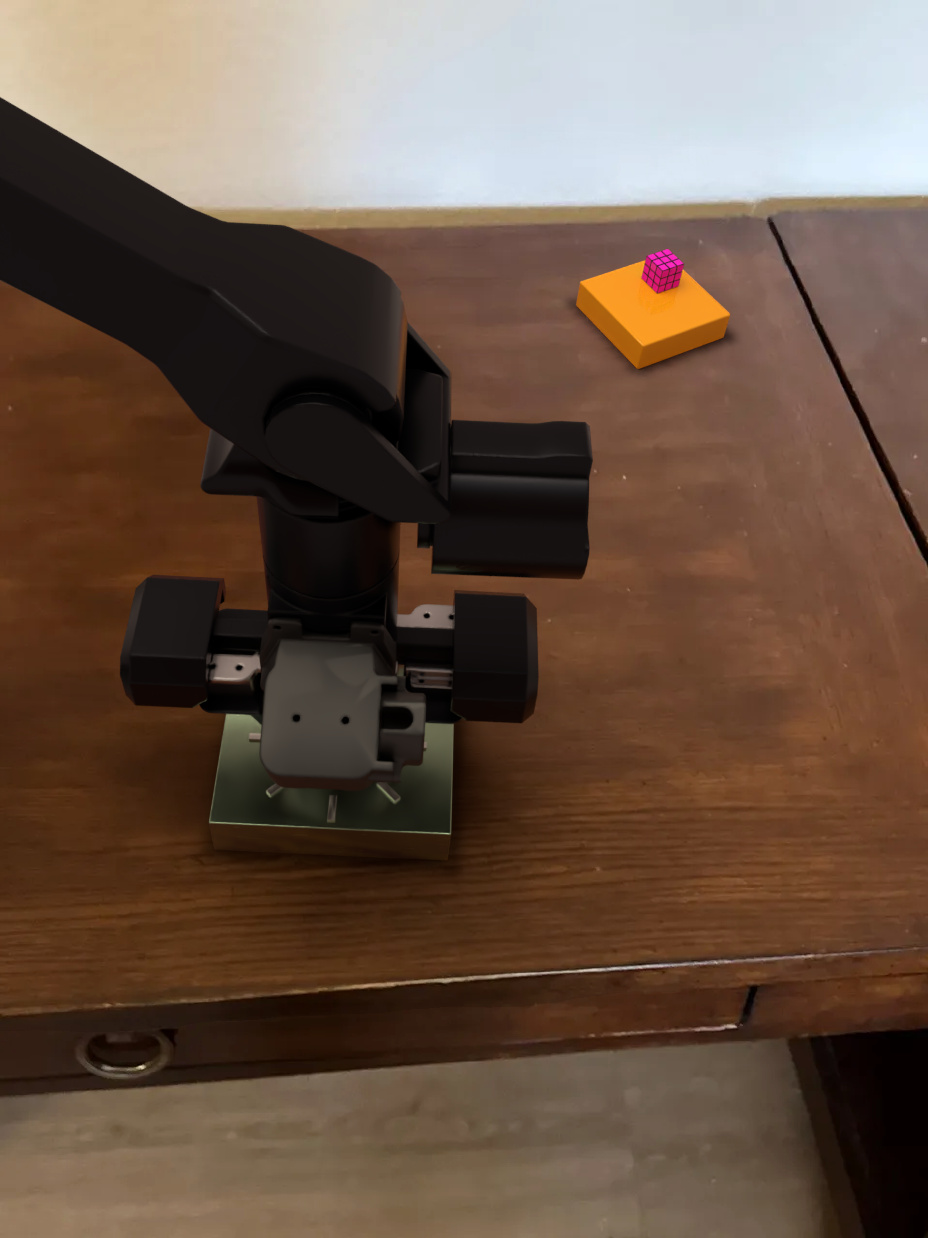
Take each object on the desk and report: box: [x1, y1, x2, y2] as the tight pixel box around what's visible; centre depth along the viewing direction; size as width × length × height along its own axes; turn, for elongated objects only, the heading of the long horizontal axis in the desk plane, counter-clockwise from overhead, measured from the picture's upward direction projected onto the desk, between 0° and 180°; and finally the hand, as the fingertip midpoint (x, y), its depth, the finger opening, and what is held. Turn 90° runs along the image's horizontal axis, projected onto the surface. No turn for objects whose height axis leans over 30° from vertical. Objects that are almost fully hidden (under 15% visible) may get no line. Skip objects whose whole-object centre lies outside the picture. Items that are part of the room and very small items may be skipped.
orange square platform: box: [575, 248, 731, 370], centre depth 89 cm, size 8×8×4 cm
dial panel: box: [208, 714, 455, 862], centre depth 64 cm, size 12×10×3 cm
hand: (338, 740), depth 63 cm, fingers closed on pointer wheel, 5 cm apart
